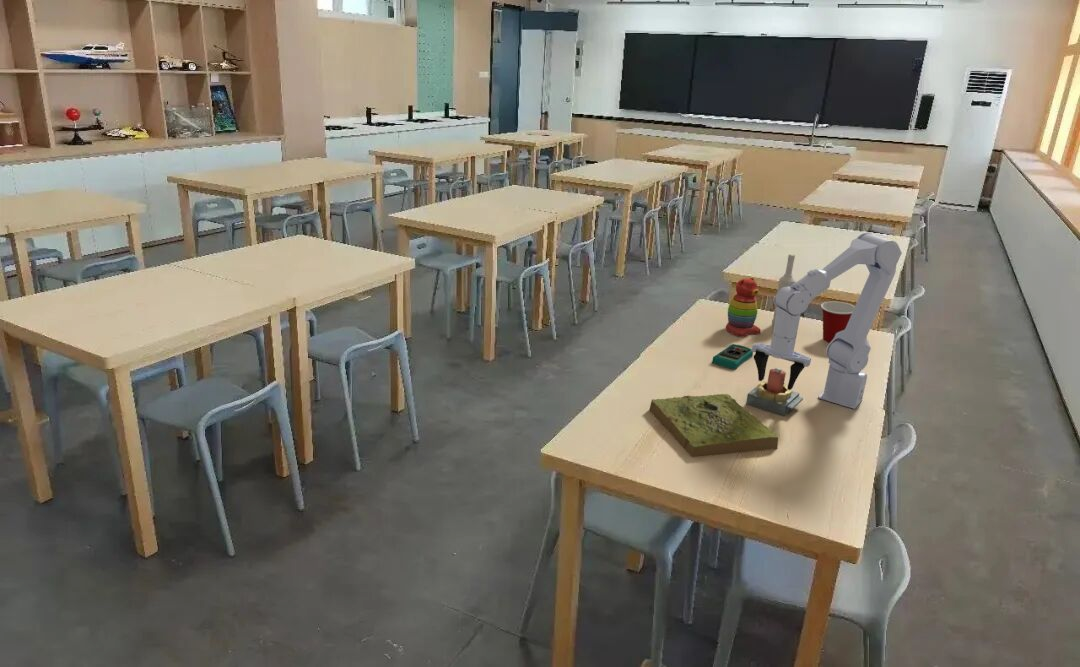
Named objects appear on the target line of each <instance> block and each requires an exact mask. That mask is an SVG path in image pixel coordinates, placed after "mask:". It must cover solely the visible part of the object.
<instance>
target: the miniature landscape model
mask: <svg viewBox="0 0 1080 667" xmlns="http://www.w3.org/2000/svg"><path fill="white" fill-rule="evenodd" d="M649 405H650V406H649V409H648V410H649V411H650V413H651V414H652V415H653V416H654V417H655V418H656V419H657V420H658V421H659V422H660V424H661V425H662V426H663V427H664V428H665V429H666V430H667V432H668V433H670V434H671V435H672V437H673V438H674V439H675V440H676V441H677V442H678V443H679V445H680V446H682V448H683V449H684V450H685V451H686V453H688V455H689V456H690V457H691V458H701V457H711V456H718V455H719V456H720V455H729V454H738V453H740V454H741V453H748V452H757V451H760V452H761V451H765V450H767V451H768V450H775V449H777V450H778V447H779V446H778V444H779V436H778V435H777V434H776V432H775V431H774V430H771V429H770V428H769V427H768V426H766V425H765V424H764V423H763V422H762V421H761V420H759V419H758V418H757V417H756V416H755V415H754V414H751V413H750V411H748V410H746V409H745V408H744V407H743V405H740V404H739V403H738V402H737V399H735V398H733V397H732V396H731V395H730V394H728V393H722V394H721V393H717V394H713V395H712V394H708V395H696V396H695V395H683V396H681V397H676V396H674V397H669V398H668V397H667V398H657V399H653V398H652V399H651V401H650V404H649Z"/></svg>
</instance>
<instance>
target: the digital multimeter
mask: <svg viewBox="0 0 1080 667" xmlns="http://www.w3.org/2000/svg"><path fill="white" fill-rule="evenodd" d="M753 357H754V352H752V348H750V347H747V346H745V345H740V344H737V343H736V344H735V343H731V344H730V345H728V347H726V348H725V349H723V350H721V351H720V352H719V353H717V354H715V355H714V356H713V357H712V361H711V362H712V364H714V365H716V366H720V367H723V368H727V369H731V370H737V369H738V368H739V367H741V365H742V364H744V363H745V362H747V360H749V359H751V358H753Z"/></svg>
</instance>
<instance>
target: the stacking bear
mask: <svg viewBox="0 0 1080 667" xmlns="http://www.w3.org/2000/svg"><path fill="white" fill-rule="evenodd" d="M735 290H736V294H733V295H734V296H733V297H732V298H731V299H730V303H729V305H728V308H727V319H728V320H727V323H726V325H725V329H726V331H727V332H728V333H730V334H731V335H733V336H736V337H739V336H740V337H741V338H744V337H746V336H747V334H748V335H760V334H761V328H760V327H758V326H757V325H755V322H756V320H757V317H758V316H757V315H758V302H757V298H756V296H757V295H758V293H759V290H760V289H759V286H758V284H757V282H756V280H755V279H754V278H753V277H749V278H741V279H740V280H738V281H737V283H736V286H735ZM743 336H744V337H743Z"/></svg>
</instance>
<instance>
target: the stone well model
mask: <svg viewBox="0 0 1080 667" xmlns="http://www.w3.org/2000/svg"><path fill="white" fill-rule="evenodd" d="M767 382H768V381H760V383H758V384H757V386H756V387H754V388H753V389H751V390H750V391H749V392H747V394H746V401H745V404H746V406H747V405H748V406H750V407H753V408H757V409H761V410H763V411H766V412H769V413H771V414H772V413H773V414H775V415H778V416H782V417H785V416H786V415H787V414H788V413H789V412H790V411H793V409H795V407H797V406H798V405H799V404H800V403H801V402H802V401H803V400H804V397H802V396H800V392H797V391H793V390H792V389H791V390H788V389H787V388H788V385H786V384H784V386H783V391H782V393H773V392H770V391H766V388H767Z"/></svg>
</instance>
